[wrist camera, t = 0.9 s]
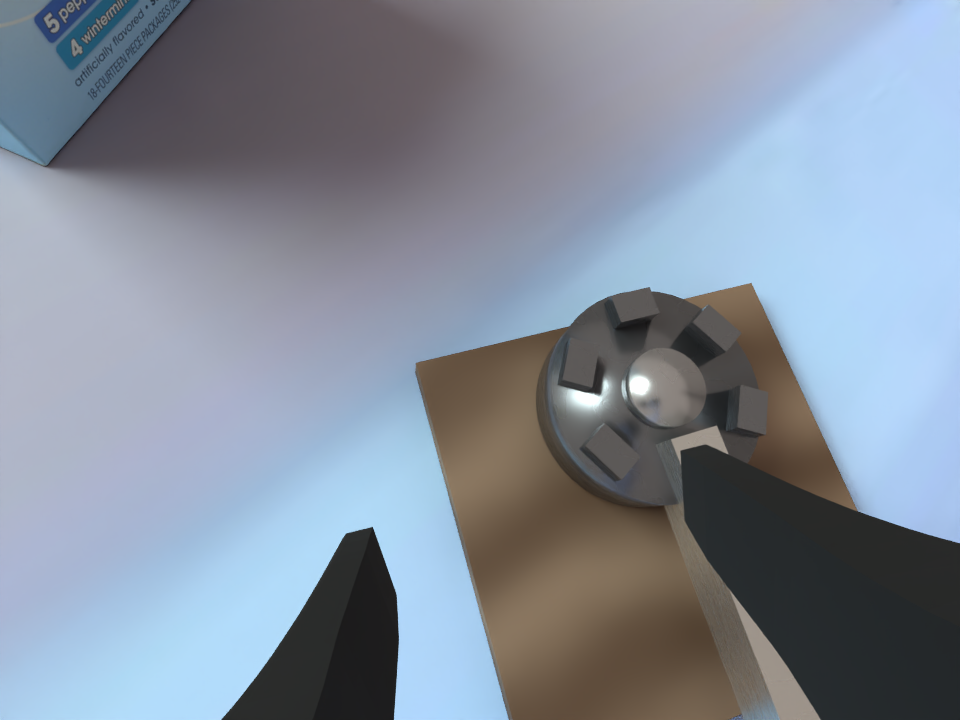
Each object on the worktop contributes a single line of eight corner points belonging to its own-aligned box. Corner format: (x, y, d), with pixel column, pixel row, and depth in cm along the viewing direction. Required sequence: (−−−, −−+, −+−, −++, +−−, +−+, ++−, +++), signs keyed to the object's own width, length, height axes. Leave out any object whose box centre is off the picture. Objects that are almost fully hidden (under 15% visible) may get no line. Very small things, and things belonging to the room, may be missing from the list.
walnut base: (887, 630, 25) (919, 636, 23) (526, 785, 21) (536, 805, 19) (735, 294, 29) (753, 282, 28) (415, 372, 25) (416, 362, 24)
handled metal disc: (510, 338, 24) (530, 302, 21) (679, 298, 26) (726, 258, 22) (657, 789, 20) (718, 853, 16) (849, 701, 22) (946, 739, 18)
